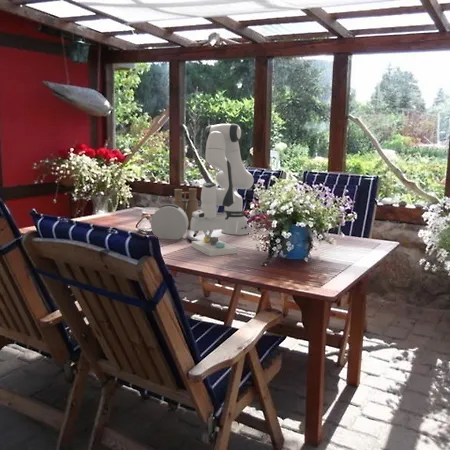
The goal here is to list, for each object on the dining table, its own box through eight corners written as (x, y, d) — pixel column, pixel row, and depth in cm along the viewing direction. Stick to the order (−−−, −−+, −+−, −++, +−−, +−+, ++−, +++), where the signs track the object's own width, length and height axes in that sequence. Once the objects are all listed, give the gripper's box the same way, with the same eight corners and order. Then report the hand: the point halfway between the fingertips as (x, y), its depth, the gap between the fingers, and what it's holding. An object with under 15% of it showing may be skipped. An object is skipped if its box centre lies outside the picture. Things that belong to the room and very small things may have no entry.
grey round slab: (188, 237, 315) (189, 204, 311) (186, 239, 308) (186, 206, 304) (153, 235, 317) (153, 202, 313) (150, 237, 310) (150, 204, 306)
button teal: (221, 250, 283) (221, 242, 282) (225, 252, 278) (226, 244, 278) (213, 251, 280) (213, 242, 279) (217, 253, 276) (218, 244, 275)
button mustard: (209, 244, 295) (209, 236, 294) (213, 246, 290) (213, 238, 290) (201, 245, 292) (202, 237, 291) (205, 247, 288) (206, 239, 287)
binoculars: (194, 224, 353) (195, 187, 348) (202, 227, 345) (203, 189, 340) (167, 227, 341) (167, 188, 336) (174, 230, 333) (175, 190, 328)
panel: (217, 244, 299) (217, 239, 298) (236, 253, 280) (236, 247, 279) (191, 246, 291) (191, 241, 290) (209, 255, 272) (210, 250, 272)
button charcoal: (215, 245, 288) (215, 236, 287) (219, 247, 284) (220, 238, 283) (207, 245, 286) (208, 237, 285) (211, 247, 282) (212, 239, 281)
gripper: (222, 211, 296) (221, 235, 298) (189, 212, 286) (188, 237, 288) (228, 213, 290) (227, 237, 293) (194, 214, 280) (193, 240, 283)
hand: (207, 237), depth 290 cm, fingers closed, pressing on button mustard
